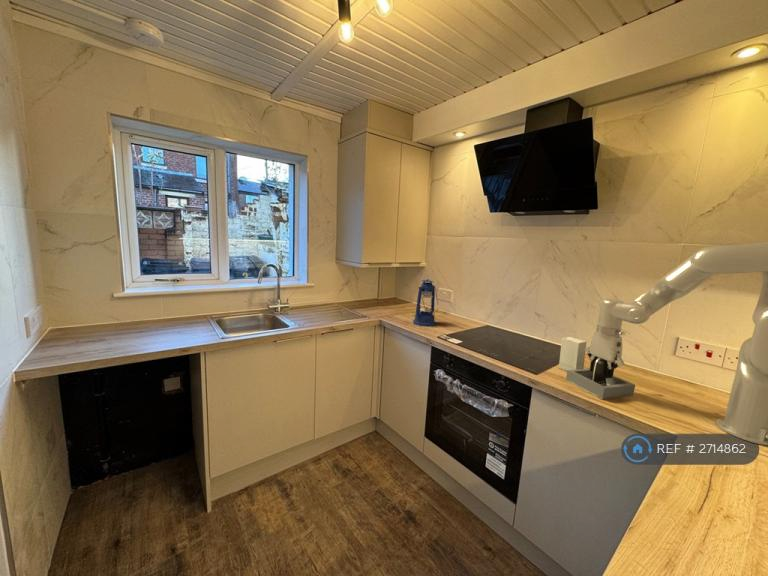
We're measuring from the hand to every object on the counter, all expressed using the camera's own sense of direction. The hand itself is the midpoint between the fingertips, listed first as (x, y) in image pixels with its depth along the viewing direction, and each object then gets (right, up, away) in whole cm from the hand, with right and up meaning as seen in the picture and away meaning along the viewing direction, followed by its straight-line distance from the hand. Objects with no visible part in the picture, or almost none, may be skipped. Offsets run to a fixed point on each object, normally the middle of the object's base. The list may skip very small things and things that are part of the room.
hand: (600, 373), depth 123 cm
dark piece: (0, -6, +1) cm, 6 cm away
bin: (0, -6, +1) cm, 6 cm away
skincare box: (-2, -4, +17) cm, 18 cm away
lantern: (-60, +10, +84) cm, 104 cm away
